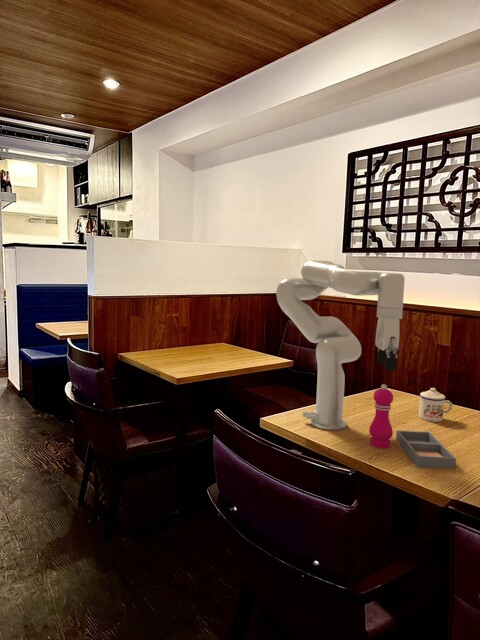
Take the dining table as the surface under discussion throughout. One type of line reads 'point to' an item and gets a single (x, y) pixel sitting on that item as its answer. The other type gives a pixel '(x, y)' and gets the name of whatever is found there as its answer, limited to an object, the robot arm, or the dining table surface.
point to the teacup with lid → (432, 405)
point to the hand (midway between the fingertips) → (386, 367)
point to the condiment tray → (425, 450)
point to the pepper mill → (381, 419)
